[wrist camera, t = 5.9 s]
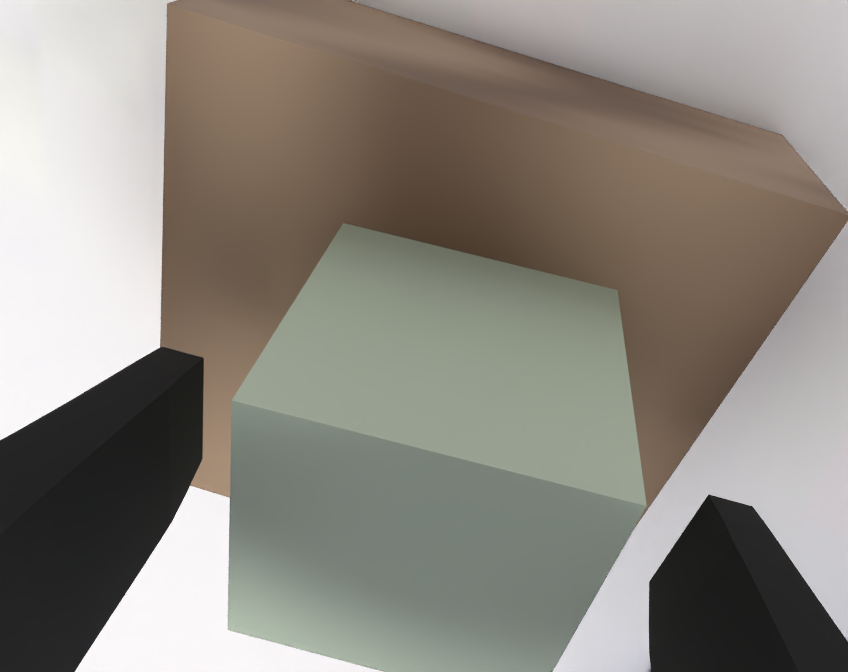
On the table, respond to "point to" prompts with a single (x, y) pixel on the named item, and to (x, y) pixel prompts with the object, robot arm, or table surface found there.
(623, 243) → the walnut block
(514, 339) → the sage cube
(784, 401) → the table surface
